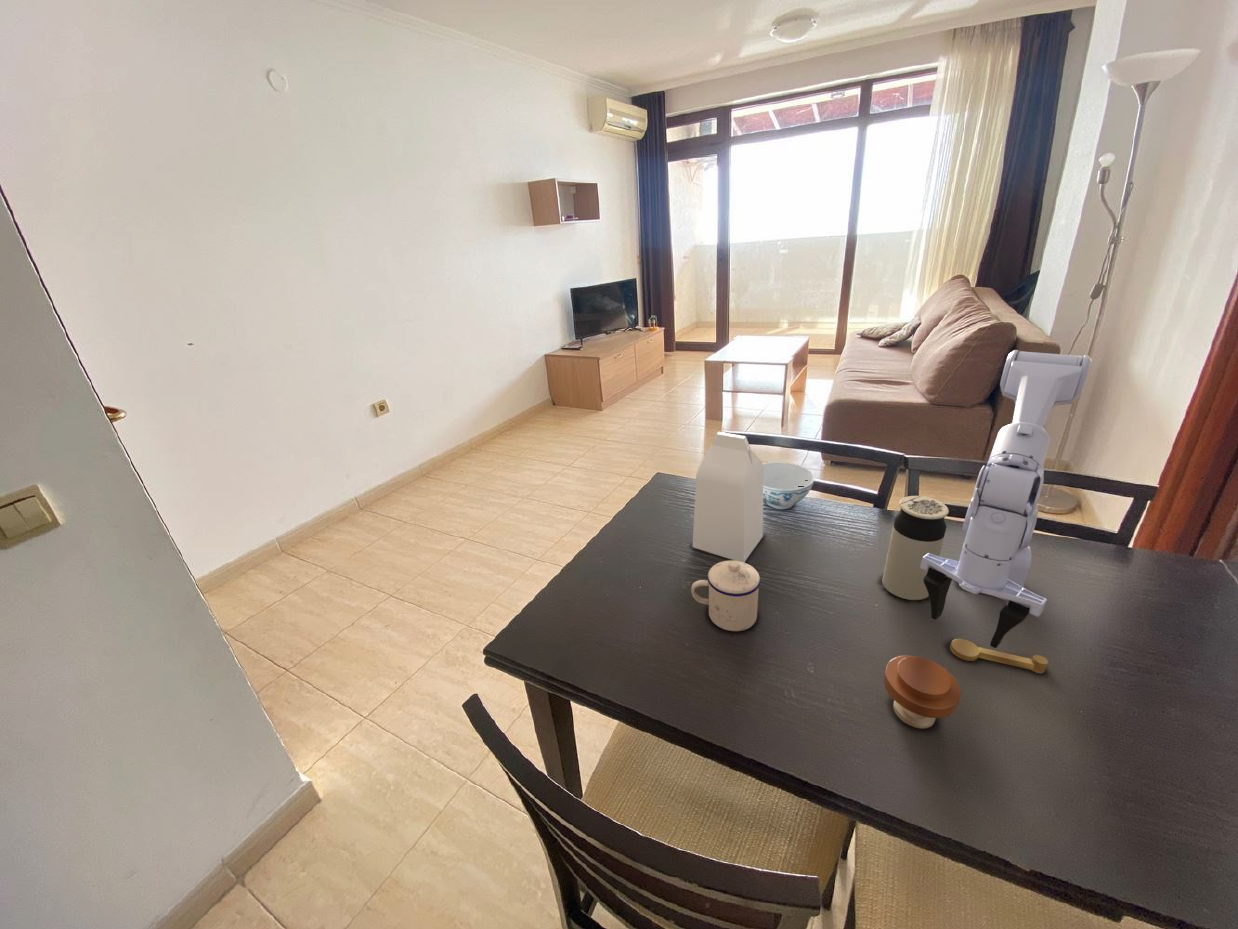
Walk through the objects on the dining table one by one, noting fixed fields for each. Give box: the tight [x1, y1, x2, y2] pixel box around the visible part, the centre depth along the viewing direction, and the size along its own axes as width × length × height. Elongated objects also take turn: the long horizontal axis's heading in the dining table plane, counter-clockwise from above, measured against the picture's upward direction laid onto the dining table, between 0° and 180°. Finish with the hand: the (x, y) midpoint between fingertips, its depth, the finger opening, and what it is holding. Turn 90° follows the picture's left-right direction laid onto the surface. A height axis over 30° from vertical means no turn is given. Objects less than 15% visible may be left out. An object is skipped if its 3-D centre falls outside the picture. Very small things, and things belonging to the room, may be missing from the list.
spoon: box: [949, 638, 1049, 674], centre depth 78 cm, size 12×4×2 cm, turn 65°
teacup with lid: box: [690, 559, 761, 632], centre depth 89 cm, size 12×9×12 cm
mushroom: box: [883, 654, 962, 729], centre depth 70 cm, size 9×9×8 cm
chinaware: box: [762, 461, 815, 510], centre depth 124 cm, size 15×15×8 cm
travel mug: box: [881, 495, 950, 601], centre depth 91 cm, size 8×8×18 cm
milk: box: [692, 431, 764, 563], centre depth 107 cm, size 12×12×26 cm
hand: (964, 629), depth 73 cm, fingers open, 7 cm apart
